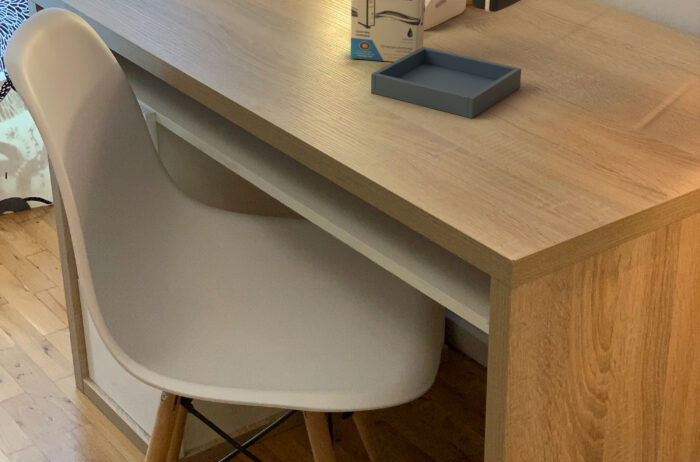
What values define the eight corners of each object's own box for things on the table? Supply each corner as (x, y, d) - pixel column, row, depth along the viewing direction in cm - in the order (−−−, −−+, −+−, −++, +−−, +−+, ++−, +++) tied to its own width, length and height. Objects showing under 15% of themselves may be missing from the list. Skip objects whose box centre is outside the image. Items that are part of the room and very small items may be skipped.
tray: (520, 87, 124) (521, 68, 122) (472, 118, 116) (473, 98, 114) (422, 64, 130) (423, 46, 129) (370, 92, 122) (370, 73, 121)
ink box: (349, 59, 132) (348, -36, 126) (358, 46, 136) (358, -47, 131) (417, 64, 130) (420, -32, 125) (424, 51, 134) (427, -43, 129)
